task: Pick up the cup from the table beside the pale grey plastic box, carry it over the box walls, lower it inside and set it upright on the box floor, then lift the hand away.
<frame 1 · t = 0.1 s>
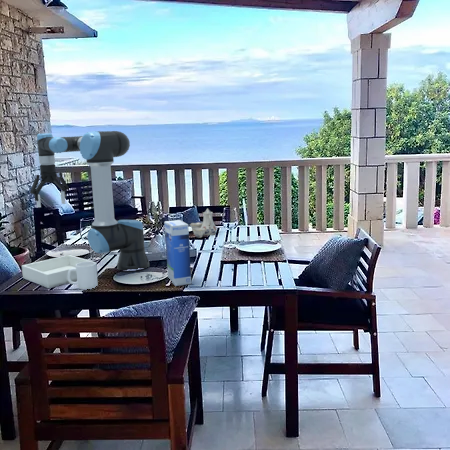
hand: (51, 205, 256), 28 cm above the table, tool pointing down, fingers open, 13 cm apart
cup: (83, 288, 209), on the table
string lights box: (179, 281, 214), on the table
chinaware: (203, 234, 309), on the table
box: (60, 276, 226), on the table
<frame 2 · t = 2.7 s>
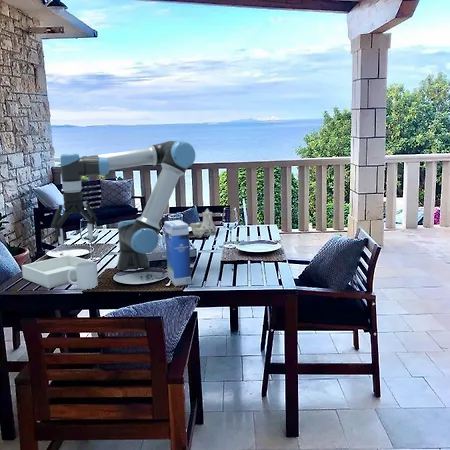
hand: (76, 241, 208), 19 cm above the table, tool pointing down, fingers open, 13 cm apart
nothing on the table moved.
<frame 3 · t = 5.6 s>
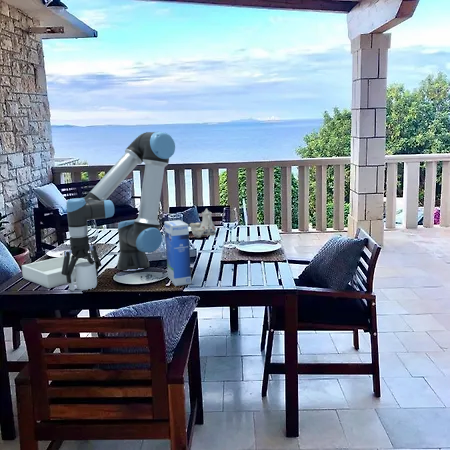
hand: (83, 286, 209), 0 cm above the table, tool pointing down, fingers closed on cup, 10 cm apart
cup: (82, 288, 209), on the table, touching gripper
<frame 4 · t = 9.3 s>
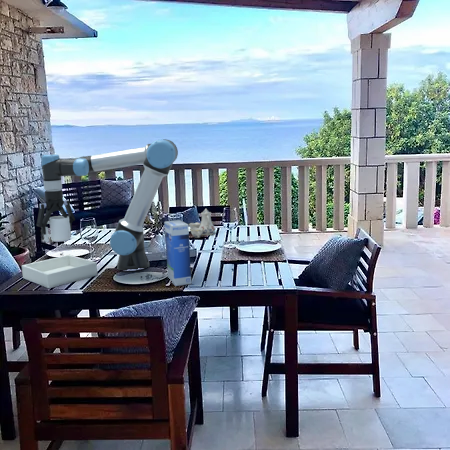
hand: (58, 239, 221), 18 cm above the table, tool pointing down, fingers closed on cup, 10 cm apart
cup: (56, 240, 221), point 17 cm above the table, touching gripper
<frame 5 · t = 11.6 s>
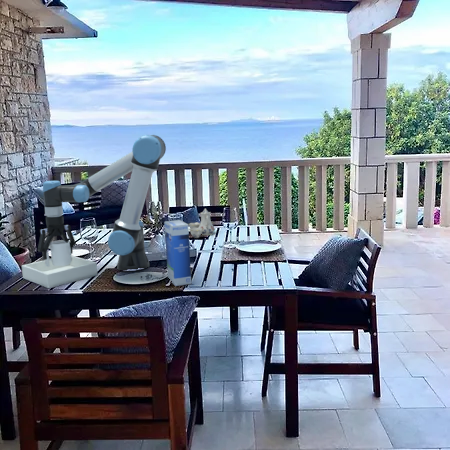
hand: (58, 263, 225), 6 cm above the table, tool pointing down, fingers closed on cup, 10 cm apart
cup: (57, 264, 225), point 6 cm above the table, touching gripper
when the fingers open (3 cm above the table, at t = 13.2 s): cup drops 2 cm, resting on box.
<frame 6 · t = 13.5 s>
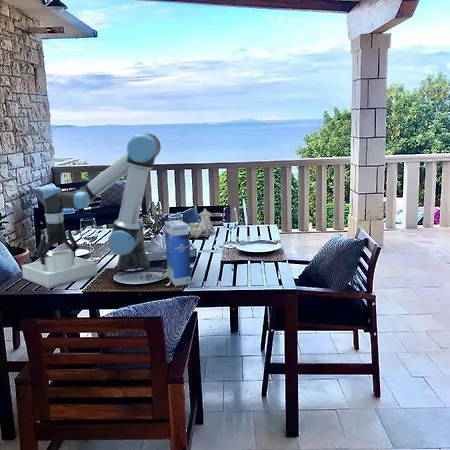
hand: (59, 268, 225), 4 cm above the table, tool pointing down, fingers open, 13 cm apart
cup: (59, 275, 226), point 1 cm above the table, touching box
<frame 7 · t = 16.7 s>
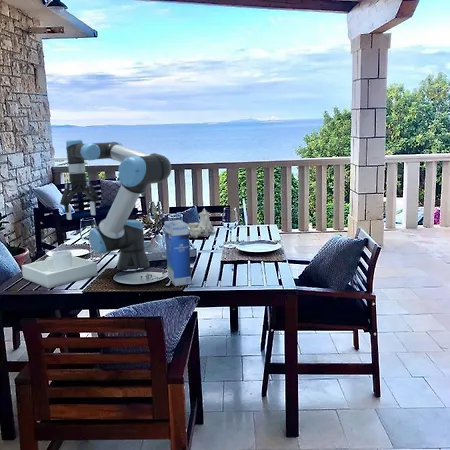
hand: (81, 217, 237), 25 cm above the table, tool pointing down, fingers open, 13 cm apart
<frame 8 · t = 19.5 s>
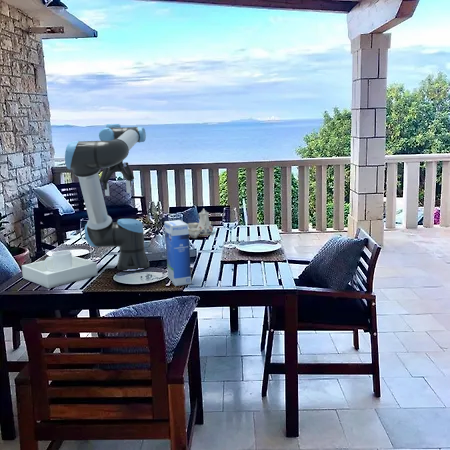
hand: (118, 194, 262), 32 cm above the table, tool pointing down, fingers open, 13 cm apart
at the end: cup inside the target area on the box (0.3 cm from its centre), point 0.8 cm above the box's base; cup tilted 0°; the gripper is holding nothing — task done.
